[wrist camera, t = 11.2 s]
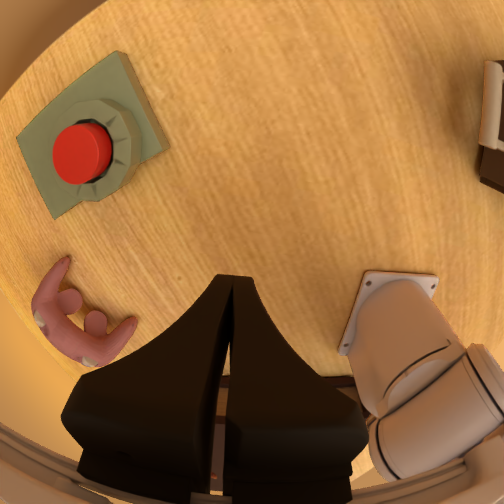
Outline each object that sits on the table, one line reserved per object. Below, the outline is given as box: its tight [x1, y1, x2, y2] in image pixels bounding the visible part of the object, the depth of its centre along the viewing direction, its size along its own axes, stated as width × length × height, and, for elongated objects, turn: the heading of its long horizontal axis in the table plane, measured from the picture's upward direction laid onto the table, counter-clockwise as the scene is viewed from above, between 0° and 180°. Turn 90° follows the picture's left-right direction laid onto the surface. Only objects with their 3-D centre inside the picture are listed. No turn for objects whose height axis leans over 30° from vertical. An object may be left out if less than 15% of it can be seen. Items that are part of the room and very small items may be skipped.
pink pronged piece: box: [31, 257, 137, 367], centre depth 22 cm, size 10×5×7 cm, turn 42°
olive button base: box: [16, 51, 170, 220], centre depth 16 cm, size 11×9×4 cm
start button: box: [52, 123, 112, 185], centre depth 14 cm, size 4×4×2 cm
